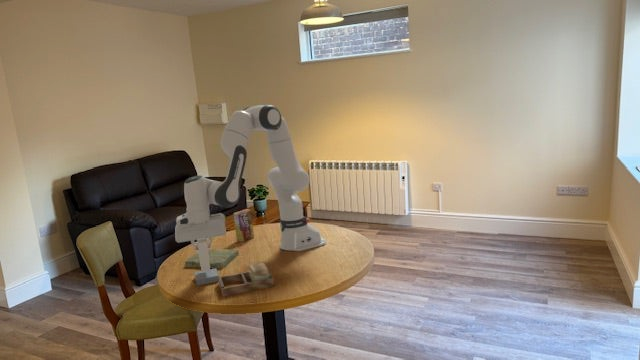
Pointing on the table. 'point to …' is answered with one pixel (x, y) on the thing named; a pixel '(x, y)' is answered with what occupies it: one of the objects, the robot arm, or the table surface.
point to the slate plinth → (206, 277)
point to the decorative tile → (213, 258)
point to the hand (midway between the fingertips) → (202, 248)
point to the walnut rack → (245, 286)
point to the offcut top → (258, 270)
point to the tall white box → (203, 255)
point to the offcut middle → (258, 277)
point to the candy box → (243, 225)
